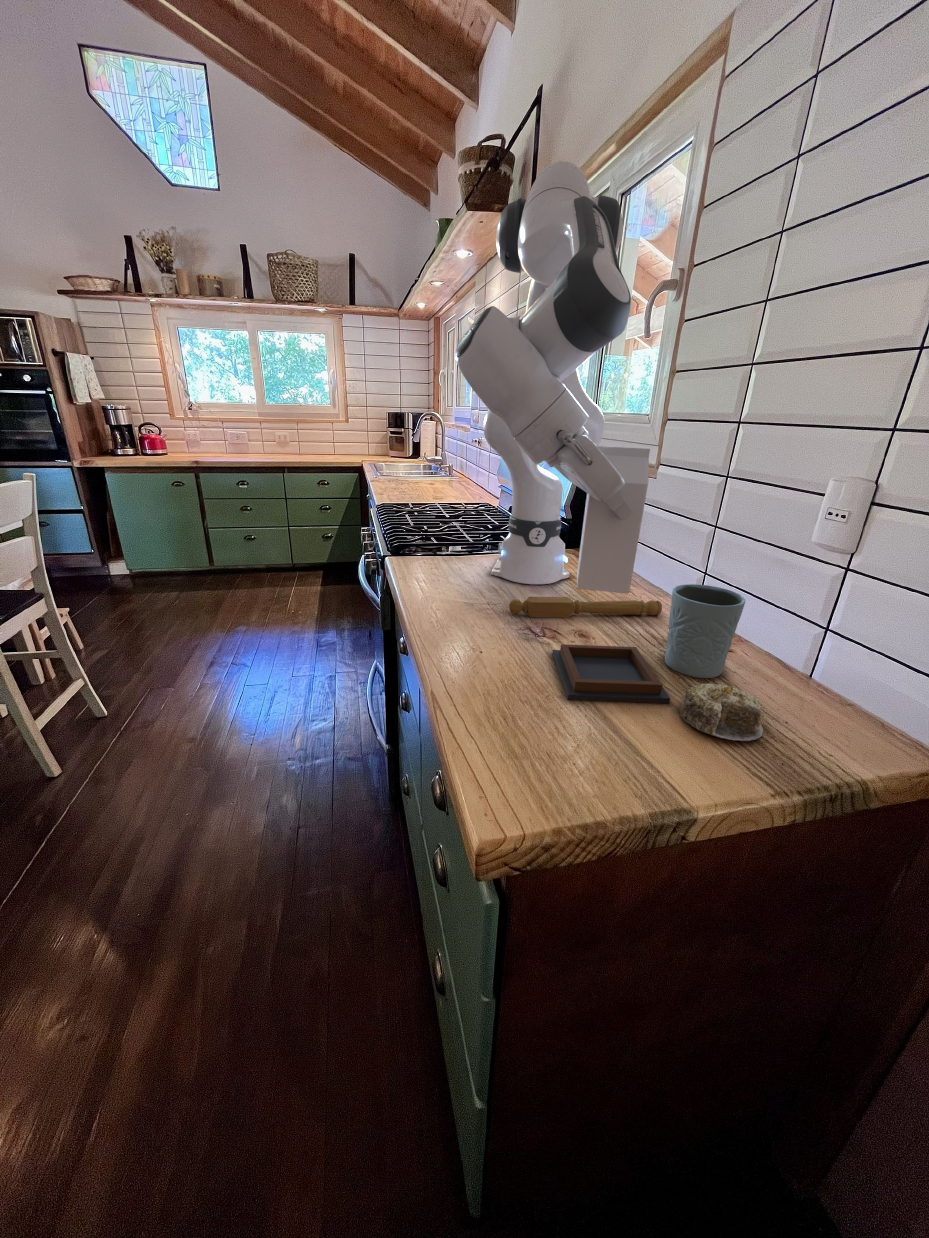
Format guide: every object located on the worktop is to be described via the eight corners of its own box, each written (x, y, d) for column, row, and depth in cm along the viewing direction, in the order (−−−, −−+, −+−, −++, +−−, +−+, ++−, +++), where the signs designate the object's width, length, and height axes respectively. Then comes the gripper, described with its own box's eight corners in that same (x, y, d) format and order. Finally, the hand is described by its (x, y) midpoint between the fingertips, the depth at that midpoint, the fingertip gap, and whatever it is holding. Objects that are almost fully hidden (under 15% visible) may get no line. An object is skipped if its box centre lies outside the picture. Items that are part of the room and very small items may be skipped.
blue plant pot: (694, 685, 73) (713, 609, 68) (644, 656, 81) (658, 587, 77) (741, 672, 77) (761, 600, 72) (689, 646, 85) (704, 580, 81)
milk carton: (629, 595, 69) (654, 450, 61) (576, 589, 70) (595, 447, 63) (624, 579, 75) (646, 447, 68) (576, 575, 76) (593, 444, 69)
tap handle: (664, 603, 96) (511, 602, 94) (661, 617, 97) (509, 617, 95) (657, 597, 99) (508, 596, 97) (654, 612, 100) (507, 611, 98)
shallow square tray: (552, 654, 81) (553, 641, 80) (637, 657, 81) (640, 644, 80) (567, 699, 68) (569, 685, 67) (669, 703, 68) (672, 688, 67)
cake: (661, 709, 68) (667, 673, 66) (721, 701, 70) (728, 666, 69) (715, 748, 59) (724, 707, 57) (782, 737, 61) (792, 698, 60)
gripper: (590, 412, 54) (663, 506, 58) (559, 413, 73) (615, 483, 77) (545, 454, 56) (618, 542, 60) (526, 444, 75) (583, 511, 78)
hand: (616, 509), depth 68 cm, fingers closed on milk carton, 7 cm apart
